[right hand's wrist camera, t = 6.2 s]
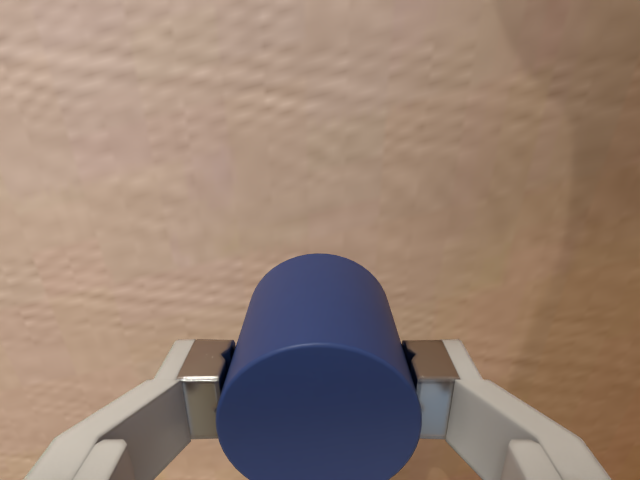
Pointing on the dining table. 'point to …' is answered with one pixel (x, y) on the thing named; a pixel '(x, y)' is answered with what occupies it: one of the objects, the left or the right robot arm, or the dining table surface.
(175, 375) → the right robot arm
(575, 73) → the dining table surface
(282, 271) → the cylinder
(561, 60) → the dining table surface
